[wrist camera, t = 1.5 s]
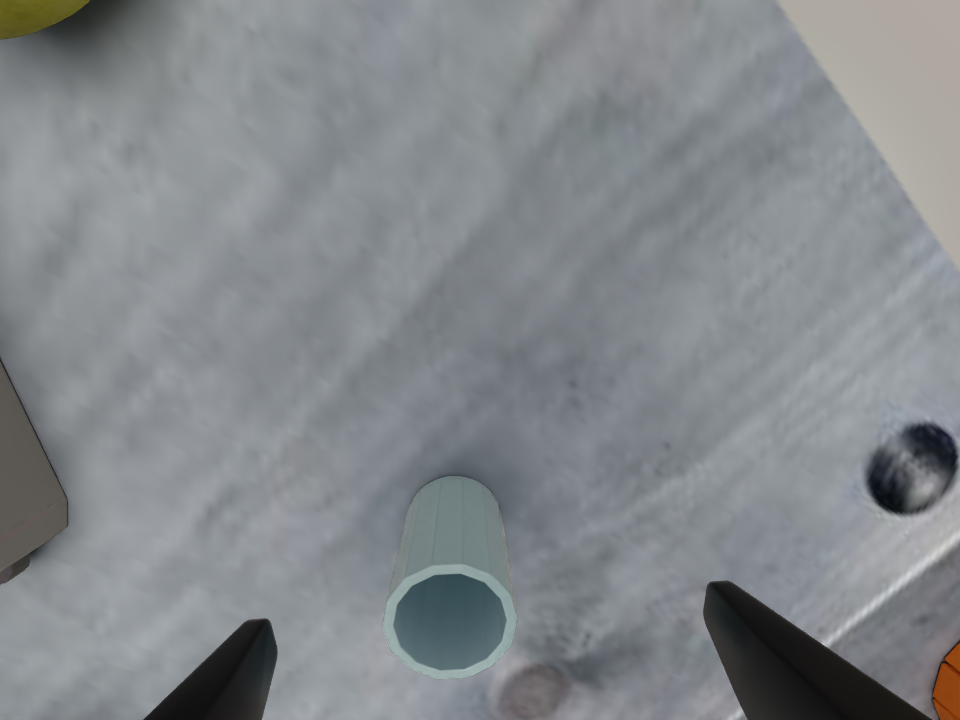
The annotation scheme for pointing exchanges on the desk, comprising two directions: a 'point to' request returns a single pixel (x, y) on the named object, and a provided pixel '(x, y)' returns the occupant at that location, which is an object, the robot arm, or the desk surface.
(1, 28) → the apple
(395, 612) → the cup
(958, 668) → the ring
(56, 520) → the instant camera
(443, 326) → the desk surface
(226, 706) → the robot arm
